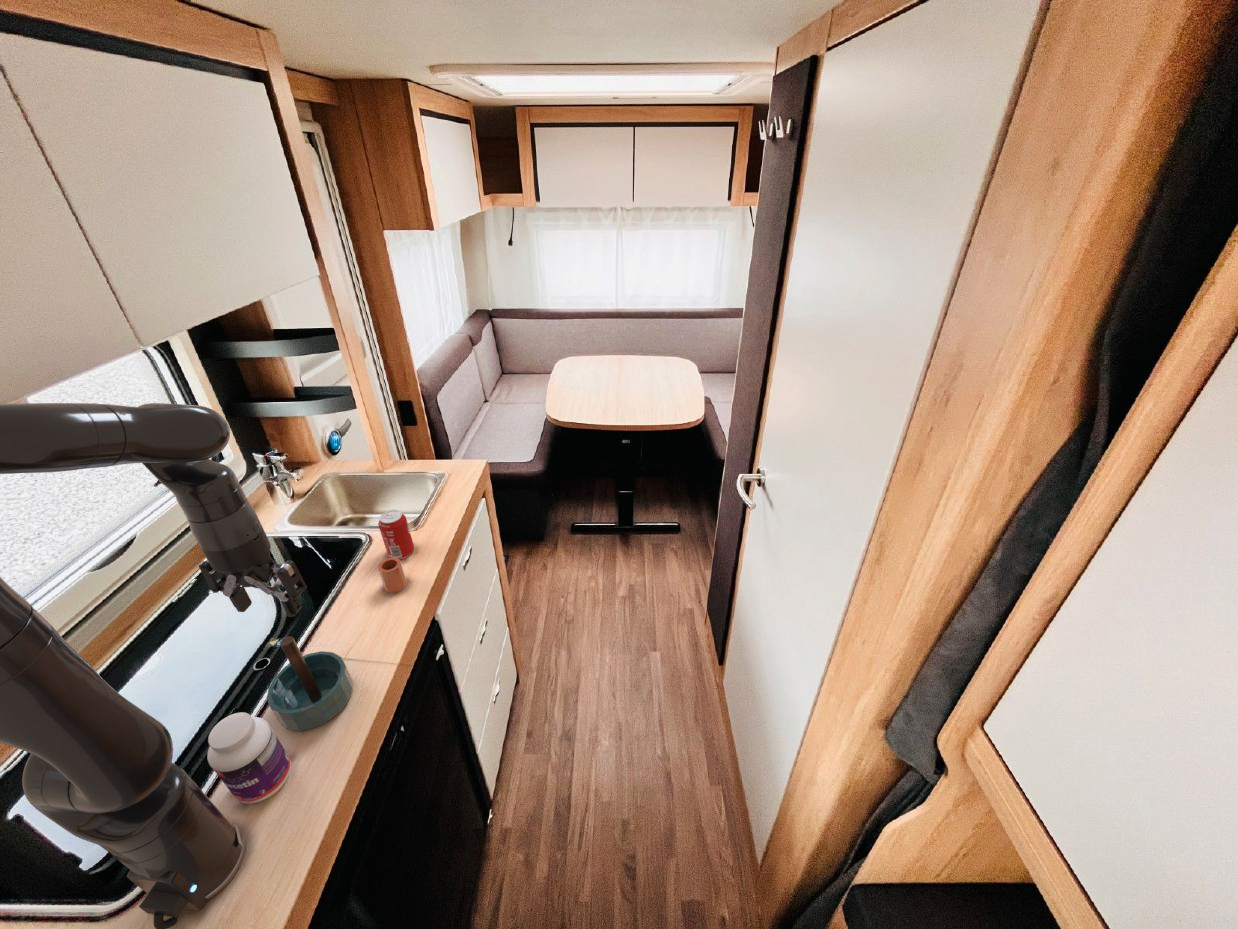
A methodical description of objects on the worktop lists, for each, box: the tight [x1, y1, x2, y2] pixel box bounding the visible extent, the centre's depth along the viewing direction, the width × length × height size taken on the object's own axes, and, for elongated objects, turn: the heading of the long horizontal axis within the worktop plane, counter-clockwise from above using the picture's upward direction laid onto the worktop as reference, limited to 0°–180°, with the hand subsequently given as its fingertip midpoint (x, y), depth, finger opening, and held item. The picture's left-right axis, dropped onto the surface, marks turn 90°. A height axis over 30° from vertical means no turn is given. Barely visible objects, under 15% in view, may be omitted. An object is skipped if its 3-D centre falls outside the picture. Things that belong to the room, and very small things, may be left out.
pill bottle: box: [206, 711, 292, 805], centre depth 79 cm, size 8×8×14 cm
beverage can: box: [377, 509, 415, 560], centre depth 125 cm, size 6×6×12 cm
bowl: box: [266, 651, 354, 732], centre depth 93 cm, size 12×13×6 cm
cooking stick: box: [279, 635, 322, 702], centre depth 90 cm, size 2×2×16 cm
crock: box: [377, 557, 408, 594], centre depth 117 cm, size 5×5×7 cm
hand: (270, 610), depth 82 cm, fingers open, 8 cm apart
